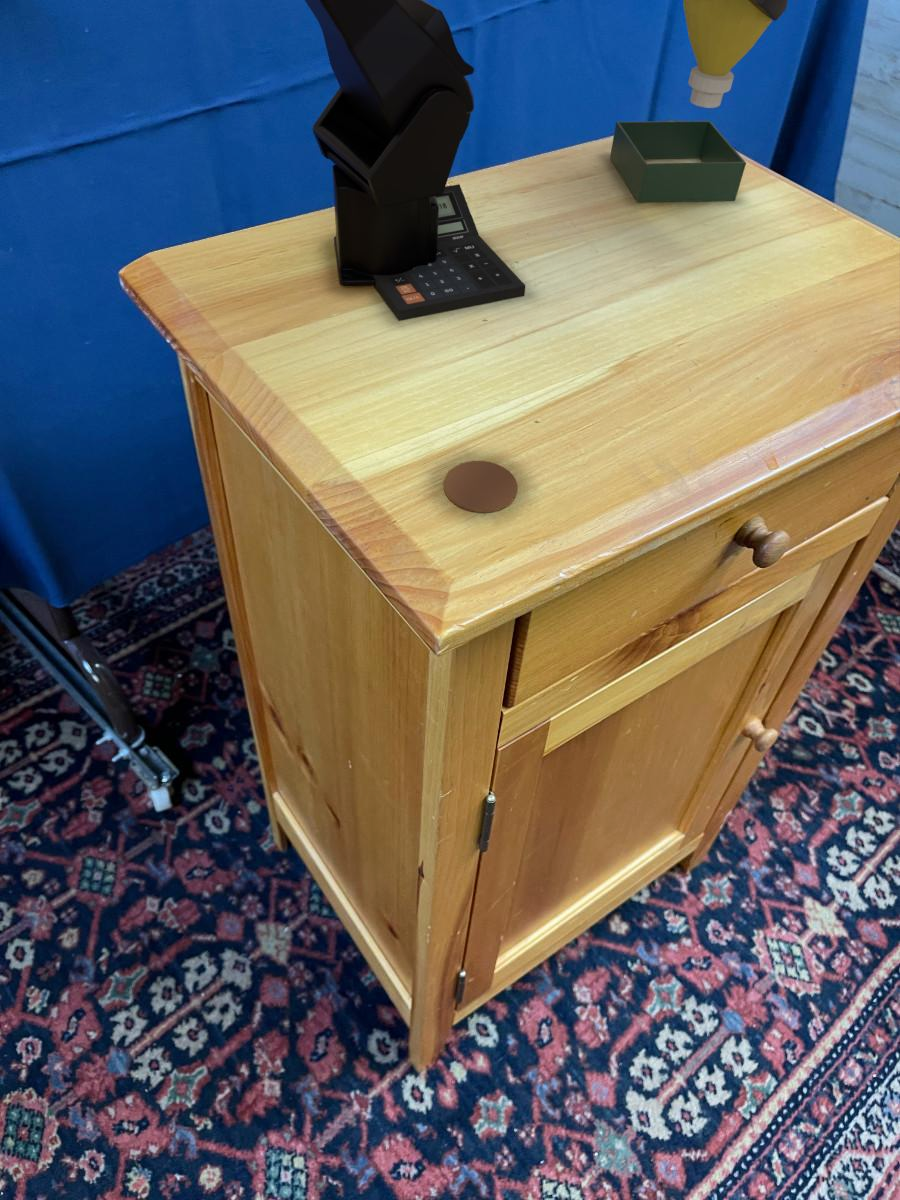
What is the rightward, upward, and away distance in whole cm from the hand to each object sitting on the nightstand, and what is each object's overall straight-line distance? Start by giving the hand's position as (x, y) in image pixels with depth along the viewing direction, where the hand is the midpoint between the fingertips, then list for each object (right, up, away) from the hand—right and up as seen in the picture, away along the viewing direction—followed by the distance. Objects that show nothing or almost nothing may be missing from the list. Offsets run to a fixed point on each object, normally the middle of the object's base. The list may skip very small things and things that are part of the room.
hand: (745, 0), depth 62 cm
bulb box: (-3, -8, +11) cm, 13 cm away
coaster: (-20, -37, -16) cm, 45 cm away
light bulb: (-2, -5, +5) cm, 7 cm away
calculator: (-23, -20, 0) cm, 30 cm away
